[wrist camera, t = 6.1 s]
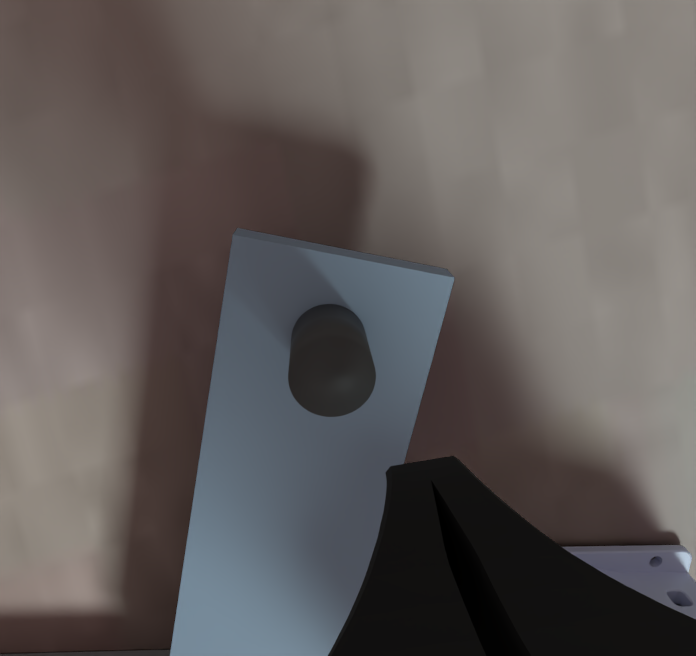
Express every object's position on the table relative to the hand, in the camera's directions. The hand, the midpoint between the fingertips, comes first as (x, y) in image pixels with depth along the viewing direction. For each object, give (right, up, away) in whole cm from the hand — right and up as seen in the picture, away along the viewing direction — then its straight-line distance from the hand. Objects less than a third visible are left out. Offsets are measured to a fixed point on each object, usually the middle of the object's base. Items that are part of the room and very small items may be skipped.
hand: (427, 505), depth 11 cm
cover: (-3, -3, +8) cm, 9 cm away
